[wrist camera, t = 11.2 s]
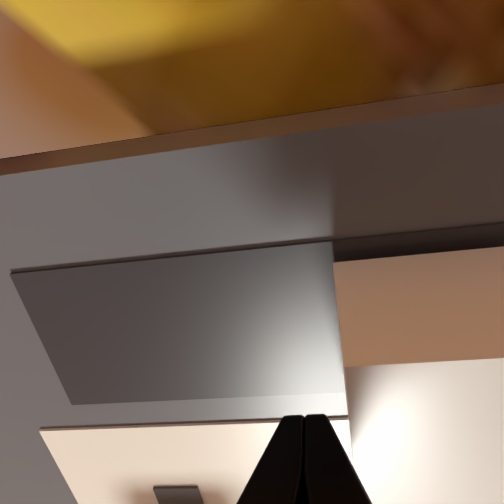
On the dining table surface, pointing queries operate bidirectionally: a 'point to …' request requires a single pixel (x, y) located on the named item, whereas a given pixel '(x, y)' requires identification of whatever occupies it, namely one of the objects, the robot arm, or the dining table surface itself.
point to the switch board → (213, 286)
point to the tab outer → (425, 375)
